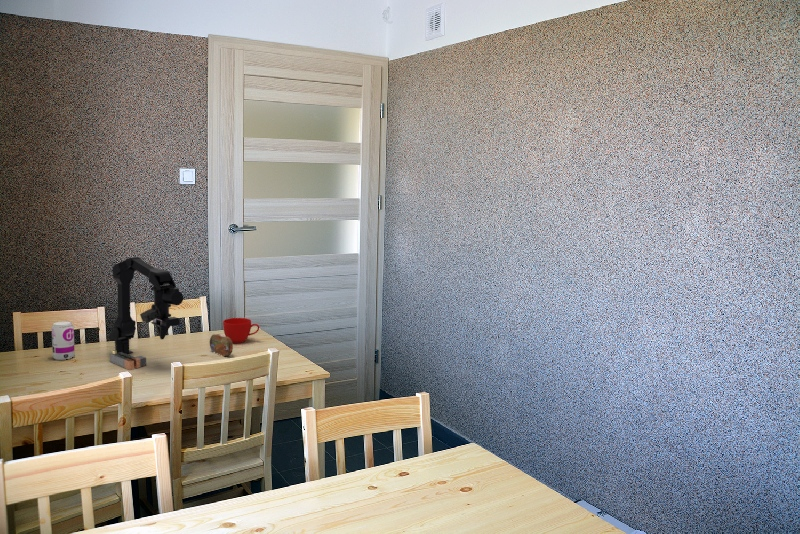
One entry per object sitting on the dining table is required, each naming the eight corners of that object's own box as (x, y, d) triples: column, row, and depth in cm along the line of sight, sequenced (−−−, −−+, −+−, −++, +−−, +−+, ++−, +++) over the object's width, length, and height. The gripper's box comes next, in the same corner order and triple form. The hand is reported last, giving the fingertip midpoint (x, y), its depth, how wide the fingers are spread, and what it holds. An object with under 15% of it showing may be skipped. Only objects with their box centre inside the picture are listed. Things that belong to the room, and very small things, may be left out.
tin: (209, 351, 302) (209, 332, 301) (215, 349, 304) (215, 331, 303) (227, 358, 292) (227, 339, 291) (234, 357, 294) (234, 338, 293)
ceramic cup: (256, 345, 313) (256, 324, 312) (219, 344, 313) (219, 323, 312) (262, 338, 326) (262, 318, 325) (227, 337, 326) (227, 317, 325)
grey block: (134, 364, 278) (134, 357, 277) (141, 363, 280) (140, 355, 279) (139, 366, 275) (139, 359, 275) (146, 365, 277) (146, 357, 277)
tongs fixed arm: (107, 360, 282) (107, 351, 282) (115, 359, 285) (114, 349, 284) (129, 370, 271) (129, 360, 270) (137, 368, 273) (137, 358, 273)
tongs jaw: (117, 360, 282) (117, 352, 281) (121, 359, 283) (121, 352, 283) (136, 368, 273) (136, 359, 273) (140, 367, 274) (140, 359, 274)
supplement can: (79, 357, 286) (77, 322, 284) (62, 361, 279) (60, 326, 276) (65, 354, 289) (64, 320, 287) (48, 358, 282) (47, 323, 280)
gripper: (131, 301, 275) (132, 338, 278) (155, 308, 263) (155, 347, 266) (156, 297, 284) (157, 333, 286) (180, 304, 272) (181, 342, 274)
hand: (162, 339), depth 278 cm, fingers closed
